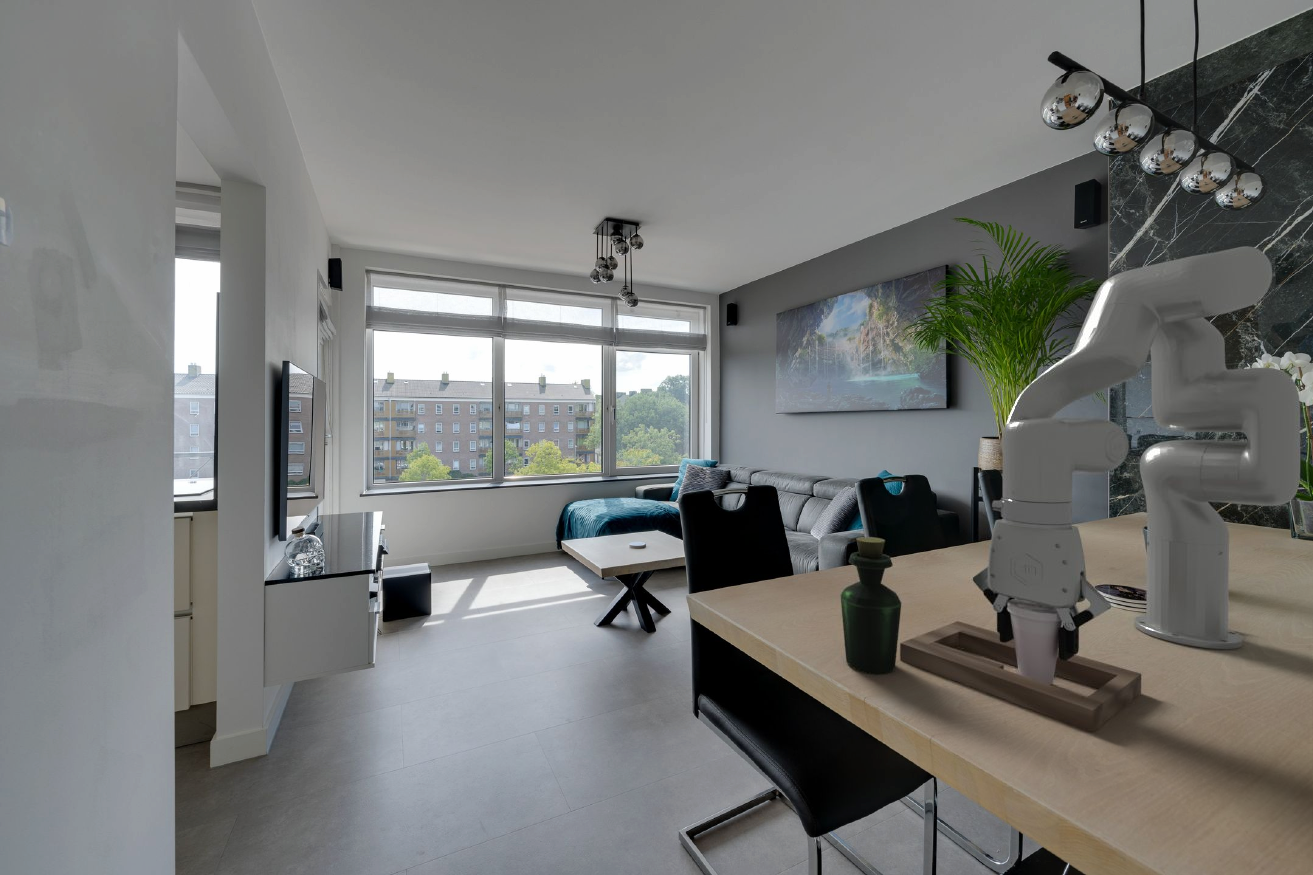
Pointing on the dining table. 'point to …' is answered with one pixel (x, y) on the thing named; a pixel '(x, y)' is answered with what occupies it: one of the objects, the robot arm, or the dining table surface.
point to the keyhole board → (990, 677)
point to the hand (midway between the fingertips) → (1036, 647)
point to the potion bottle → (870, 611)
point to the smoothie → (1035, 638)
